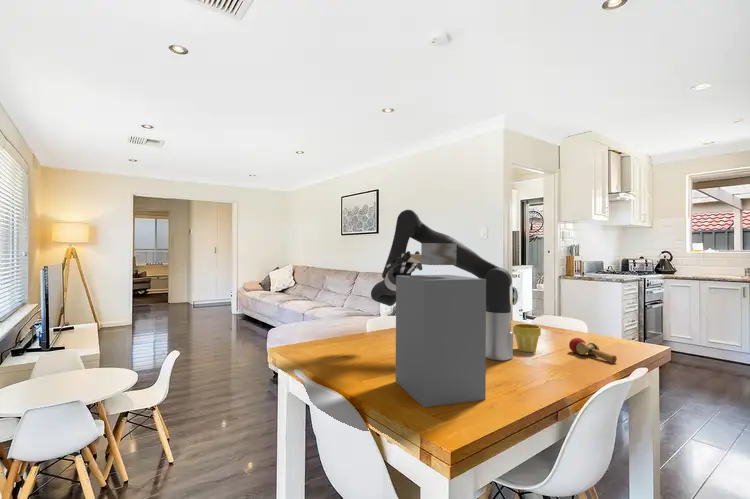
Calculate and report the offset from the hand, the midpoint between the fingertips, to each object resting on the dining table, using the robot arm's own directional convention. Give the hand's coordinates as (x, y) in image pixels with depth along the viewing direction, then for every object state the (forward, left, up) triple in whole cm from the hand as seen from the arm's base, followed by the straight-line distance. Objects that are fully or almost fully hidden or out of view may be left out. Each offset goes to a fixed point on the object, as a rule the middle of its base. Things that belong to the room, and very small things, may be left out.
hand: (413, 253), depth 126 cm
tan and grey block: (0, +6, -3) cm, 7 cm away
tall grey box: (0, +17, -39) cm, 42 cm away
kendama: (-72, +3, -39) cm, 82 cm away
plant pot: (-55, -13, -39) cm, 69 cm away
